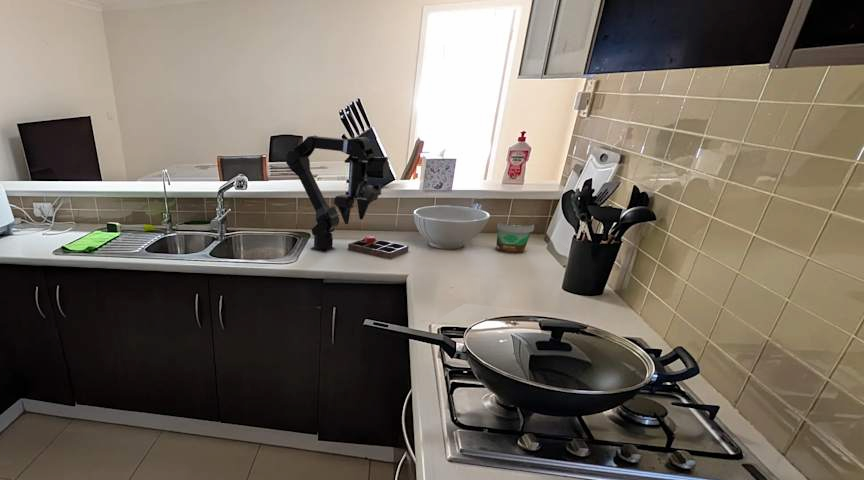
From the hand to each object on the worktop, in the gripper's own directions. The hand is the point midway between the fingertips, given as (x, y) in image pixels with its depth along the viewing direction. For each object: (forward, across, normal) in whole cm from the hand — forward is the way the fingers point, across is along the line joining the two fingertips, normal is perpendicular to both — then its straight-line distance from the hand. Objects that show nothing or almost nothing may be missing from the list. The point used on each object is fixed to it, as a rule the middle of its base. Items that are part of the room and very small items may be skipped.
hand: (353, 221), depth 182 cm
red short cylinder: (+11, +13, +1) cm, 17 cm away
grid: (+12, +10, -5) cm, 16 cm away
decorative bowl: (+12, +34, -20) cm, 41 cm away
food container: (+12, +39, -42) cm, 59 cm away
